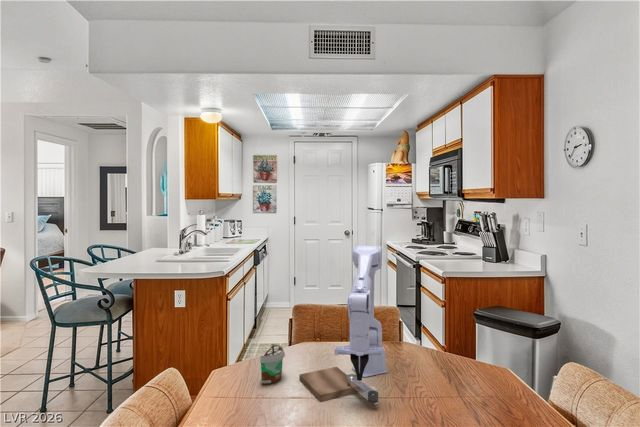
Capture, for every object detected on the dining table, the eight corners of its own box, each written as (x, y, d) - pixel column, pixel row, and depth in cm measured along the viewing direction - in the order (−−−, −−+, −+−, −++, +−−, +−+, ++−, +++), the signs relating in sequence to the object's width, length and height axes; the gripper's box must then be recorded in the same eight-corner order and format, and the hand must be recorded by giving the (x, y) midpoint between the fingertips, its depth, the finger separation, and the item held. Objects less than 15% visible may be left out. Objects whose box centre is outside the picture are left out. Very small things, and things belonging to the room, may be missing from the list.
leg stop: (372, 399, 124) (372, 386, 124) (378, 403, 121) (378, 390, 121) (369, 400, 123) (369, 386, 123) (374, 404, 121) (374, 391, 121)
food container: (278, 389, 131) (278, 357, 130) (260, 387, 132) (260, 356, 132) (289, 372, 143) (289, 344, 142) (272, 371, 144) (272, 343, 144)
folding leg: (345, 382, 130) (345, 375, 130) (353, 380, 131) (353, 373, 131) (371, 404, 117) (371, 395, 116) (380, 401, 118) (380, 393, 118)
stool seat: (336, 372, 143) (336, 366, 143) (360, 391, 128) (360, 385, 128) (299, 380, 137) (299, 374, 137) (320, 401, 122) (320, 395, 122)
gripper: (334, 337, 117) (334, 384, 118) (385, 338, 116) (385, 386, 117) (335, 329, 124) (335, 373, 125) (383, 330, 123) (383, 375, 124)
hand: (359, 379), depth 121 cm, fingers closed
